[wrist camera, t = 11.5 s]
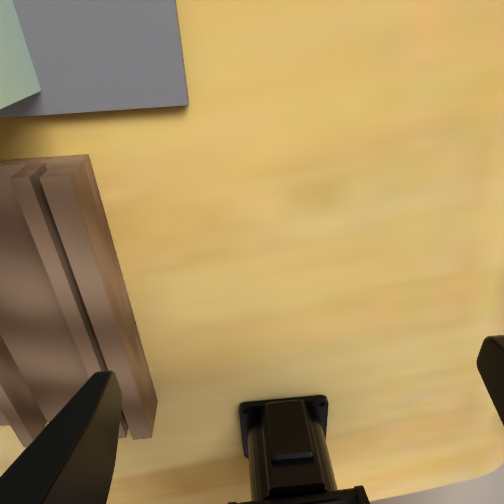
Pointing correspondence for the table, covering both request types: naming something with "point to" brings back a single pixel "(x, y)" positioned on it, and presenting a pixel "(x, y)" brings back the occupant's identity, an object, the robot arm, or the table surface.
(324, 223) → the table surface
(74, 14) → the rubber mat
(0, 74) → the tall board
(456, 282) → the table surface
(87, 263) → the board rack
